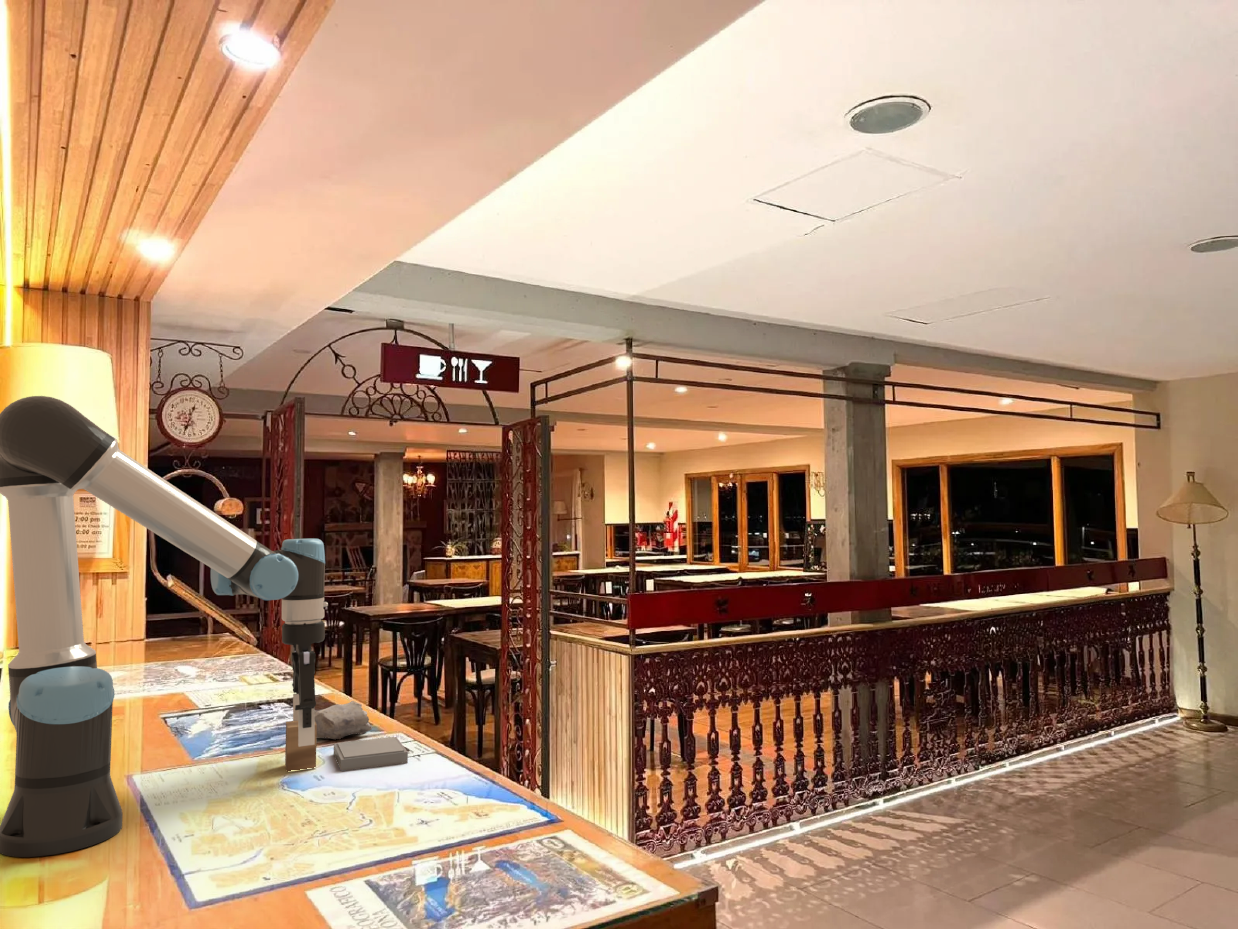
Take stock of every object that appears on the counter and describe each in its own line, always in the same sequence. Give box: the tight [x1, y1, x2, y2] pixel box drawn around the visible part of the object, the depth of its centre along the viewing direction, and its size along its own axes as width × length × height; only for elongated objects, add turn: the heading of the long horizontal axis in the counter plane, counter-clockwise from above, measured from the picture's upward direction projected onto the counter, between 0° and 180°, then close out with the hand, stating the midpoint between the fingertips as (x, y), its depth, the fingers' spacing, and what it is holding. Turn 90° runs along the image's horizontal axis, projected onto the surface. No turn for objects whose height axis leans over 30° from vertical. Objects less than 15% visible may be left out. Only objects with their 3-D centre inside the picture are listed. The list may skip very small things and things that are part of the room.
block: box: [284, 720, 317, 773], centre depth 156 cm, size 5×5×8 cm
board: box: [333, 736, 409, 771], centre depth 161 cm, size 12×12×2 cm
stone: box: [315, 700, 373, 741], centre depth 177 cm, size 8×12×7 cm, turn 126°
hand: (303, 736), depth 156 cm, fingers open, 13 cm apart
